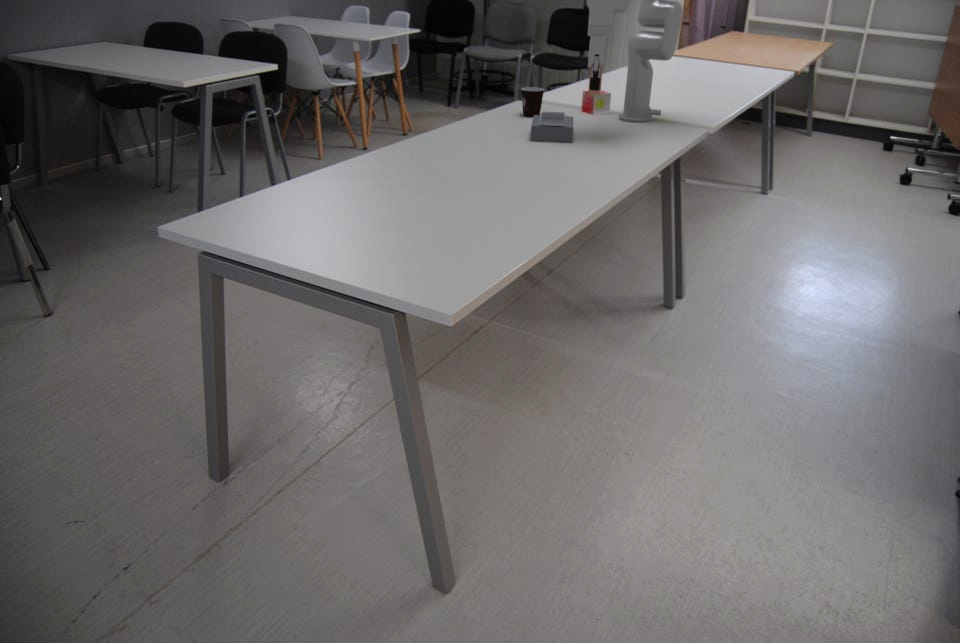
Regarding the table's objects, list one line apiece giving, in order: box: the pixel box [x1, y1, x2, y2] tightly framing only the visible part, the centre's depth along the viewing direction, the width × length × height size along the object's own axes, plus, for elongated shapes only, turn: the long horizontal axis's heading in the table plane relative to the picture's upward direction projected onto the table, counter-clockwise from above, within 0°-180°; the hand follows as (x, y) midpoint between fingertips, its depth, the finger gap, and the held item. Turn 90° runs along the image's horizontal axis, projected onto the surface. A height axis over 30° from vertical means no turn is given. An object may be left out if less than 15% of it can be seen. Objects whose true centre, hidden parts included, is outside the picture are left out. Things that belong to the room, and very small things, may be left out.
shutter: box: [541, 111, 566, 126], centre depth 250 cm, size 8×8×3 cm
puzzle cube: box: [581, 90, 612, 116], centre depth 293 cm, size 8×8×8 cm
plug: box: [587, 62, 605, 95], centre depth 248 cm, size 5×5×10 cm
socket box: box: [530, 113, 574, 143], centre depth 256 cm, size 14×18×6 cm
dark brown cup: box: [520, 86, 545, 118], centre depth 286 cm, size 12×9×10 cm
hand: (594, 88), depth 250 cm, fingers closed on plug, 4 cm apart
